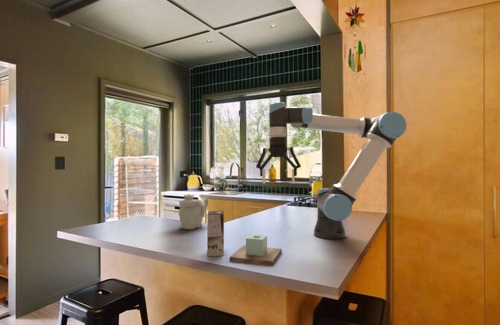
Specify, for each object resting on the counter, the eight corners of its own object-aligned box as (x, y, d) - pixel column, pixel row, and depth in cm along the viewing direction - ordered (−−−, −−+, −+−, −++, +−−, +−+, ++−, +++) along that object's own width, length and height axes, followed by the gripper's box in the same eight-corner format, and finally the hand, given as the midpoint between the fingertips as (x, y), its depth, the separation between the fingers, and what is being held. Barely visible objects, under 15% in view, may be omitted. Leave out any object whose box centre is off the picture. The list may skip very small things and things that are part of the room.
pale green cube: (266, 251, 116) (266, 234, 116) (262, 255, 110) (262, 238, 110) (251, 249, 118) (251, 233, 118) (245, 254, 112) (245, 237, 112)
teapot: (207, 223, 176) (207, 191, 176) (209, 229, 161) (209, 194, 161) (178, 225, 172) (178, 192, 172) (178, 230, 158) (178, 195, 158)
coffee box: (223, 256, 115) (223, 214, 115) (206, 256, 114) (207, 214, 114) (223, 249, 124) (223, 210, 124) (208, 249, 123) (208, 210, 123)
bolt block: (281, 252, 119) (281, 237, 119) (272, 265, 104) (272, 248, 104) (243, 249, 124) (243, 234, 124) (229, 261, 109) (229, 244, 109)
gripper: (306, 136, 137) (306, 183, 136) (253, 138, 143) (254, 182, 143) (304, 135, 129) (305, 184, 129) (249, 137, 136) (249, 183, 136)
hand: (278, 183), depth 136 cm, fingers open, 13 cm apart
